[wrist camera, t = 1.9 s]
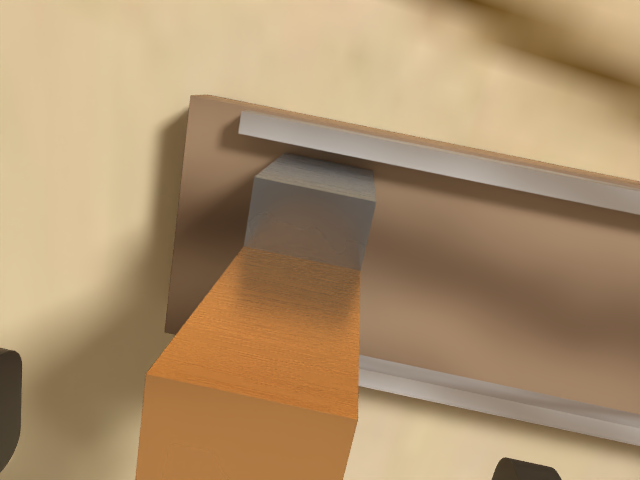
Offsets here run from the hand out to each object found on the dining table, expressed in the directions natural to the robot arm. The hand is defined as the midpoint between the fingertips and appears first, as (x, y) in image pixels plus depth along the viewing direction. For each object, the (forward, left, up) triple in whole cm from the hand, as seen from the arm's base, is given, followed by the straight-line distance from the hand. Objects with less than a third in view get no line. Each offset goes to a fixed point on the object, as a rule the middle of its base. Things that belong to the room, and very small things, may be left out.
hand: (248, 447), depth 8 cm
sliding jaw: (0, 0, -10) cm, 10 cm away
